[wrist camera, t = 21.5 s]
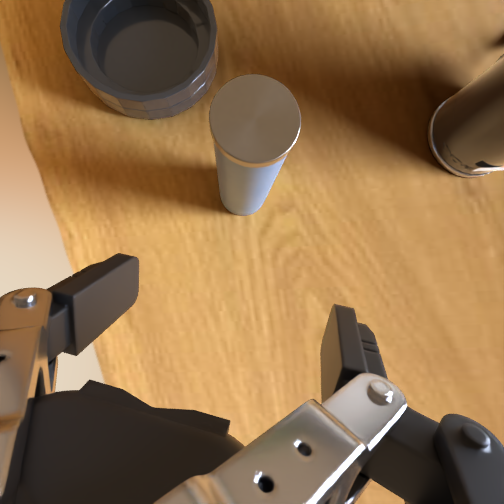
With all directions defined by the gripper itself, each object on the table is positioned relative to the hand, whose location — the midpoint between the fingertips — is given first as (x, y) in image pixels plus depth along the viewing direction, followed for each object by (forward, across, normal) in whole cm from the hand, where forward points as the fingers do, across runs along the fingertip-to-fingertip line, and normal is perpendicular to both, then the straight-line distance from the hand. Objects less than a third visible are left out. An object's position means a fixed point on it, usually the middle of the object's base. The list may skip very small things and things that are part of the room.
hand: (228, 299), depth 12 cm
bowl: (+24, +17, -12) cm, 32 cm away
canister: (+21, +4, 0) cm, 22 cm away
